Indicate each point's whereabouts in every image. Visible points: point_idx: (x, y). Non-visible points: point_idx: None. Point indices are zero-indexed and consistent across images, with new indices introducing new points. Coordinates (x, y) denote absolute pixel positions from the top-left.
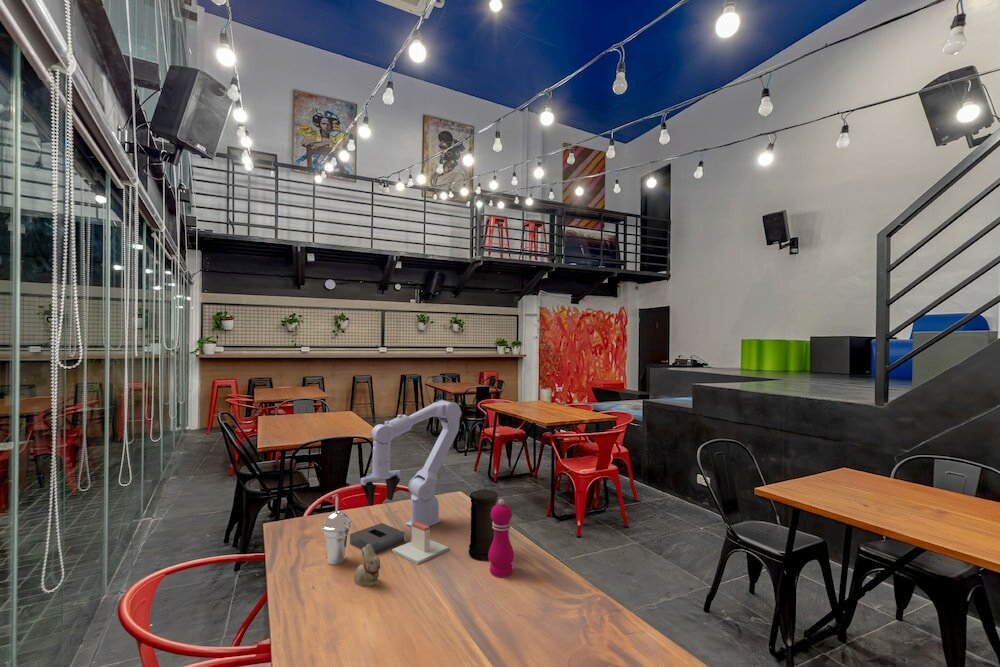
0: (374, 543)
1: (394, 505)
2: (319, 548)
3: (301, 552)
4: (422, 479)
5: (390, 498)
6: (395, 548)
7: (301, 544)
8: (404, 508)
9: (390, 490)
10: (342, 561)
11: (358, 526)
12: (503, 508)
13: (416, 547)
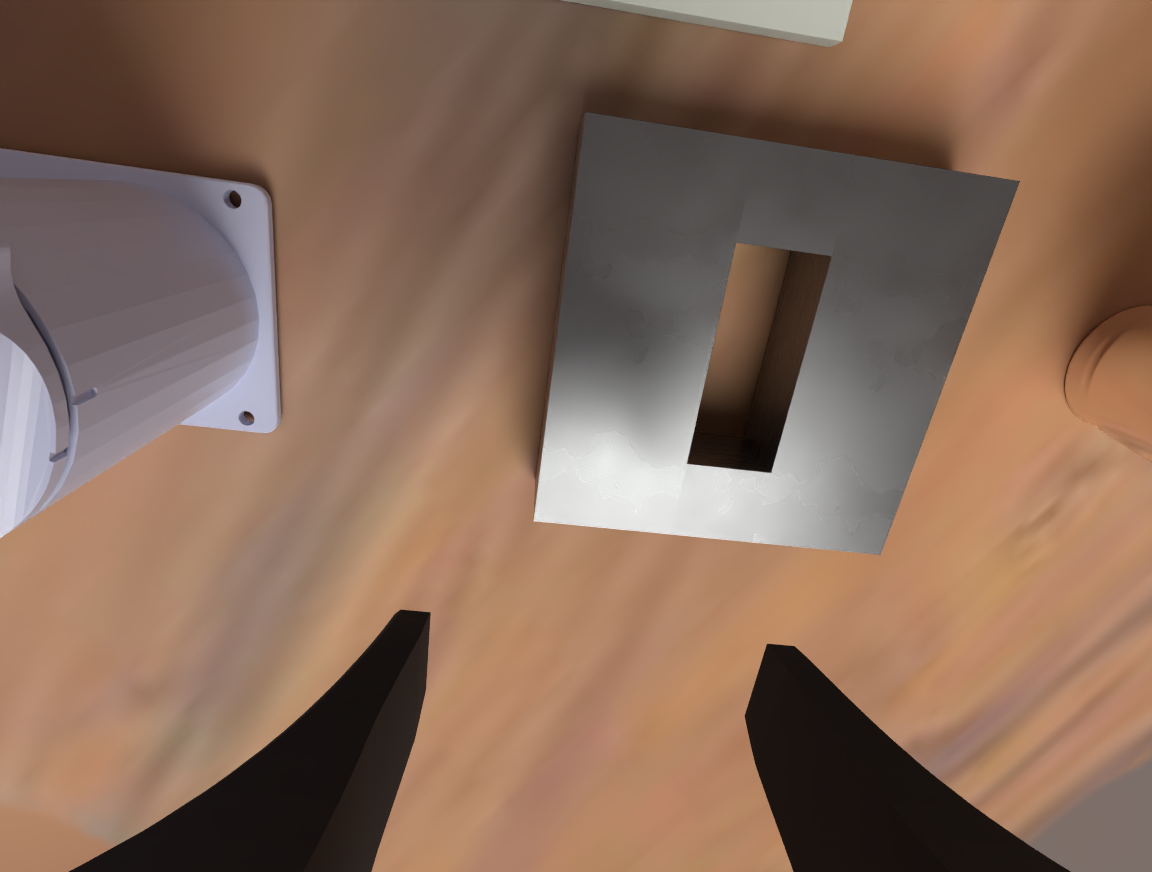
0: (986, 184)
1: (80, 786)
2: (986, 616)
3: (1075, 654)
4: None
5: (423, 639)
6: (808, 25)
7: (973, 740)
8: (47, 689)
9: (379, 765)
10: (1137, 307)
11: (563, 691)
12: None
13: None
